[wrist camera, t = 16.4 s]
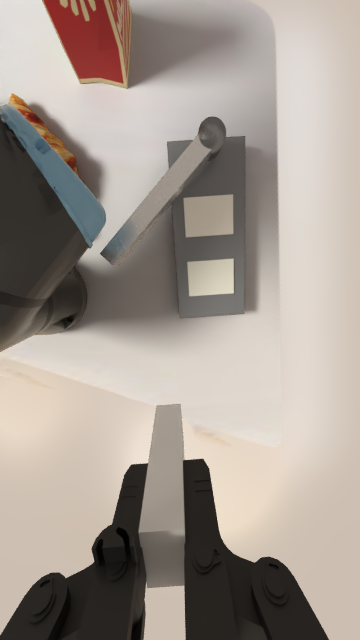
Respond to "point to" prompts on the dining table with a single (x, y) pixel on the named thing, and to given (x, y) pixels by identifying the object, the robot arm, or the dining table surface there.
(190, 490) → the robot arm
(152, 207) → the swing arm
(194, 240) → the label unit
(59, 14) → the milk carton
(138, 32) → the dining table surface
